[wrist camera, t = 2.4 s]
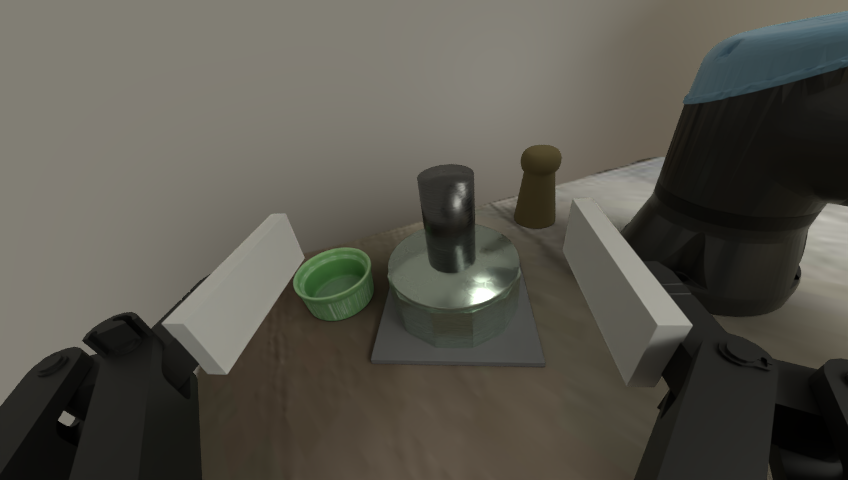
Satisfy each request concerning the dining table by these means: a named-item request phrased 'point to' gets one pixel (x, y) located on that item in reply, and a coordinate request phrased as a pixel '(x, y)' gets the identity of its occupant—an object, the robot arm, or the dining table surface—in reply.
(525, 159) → the cork
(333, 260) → the ramekin
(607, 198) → the dining table surface
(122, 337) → the robot arm
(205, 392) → the dining table surface
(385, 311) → the mat
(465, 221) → the cover
